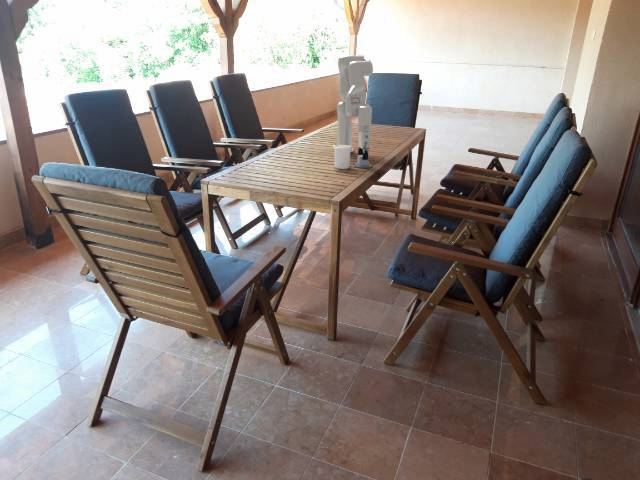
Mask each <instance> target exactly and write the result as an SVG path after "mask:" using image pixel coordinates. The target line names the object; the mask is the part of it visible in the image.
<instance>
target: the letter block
mask: <svg viewBox="0 0 640 480" xmlns="http://www.w3.org/2000/svg"><path fill="white" fill-rule="evenodd" d="M362 158H363V155H358V154H357V161H356V163H357V164H358V165H360V166H363V165H368V163H369V159H368V160H362Z"/></svg>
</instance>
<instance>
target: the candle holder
mask: <svg viewBox="0 0 640 480" xmlns="http://www.w3.org/2000/svg"><path fill="white" fill-rule="evenodd" d="M333 153H334V154H333V155H334V156H333V157H334V159H333V160H334V161H333V162H334V168H335V169H339V170H346V169H349V167H350V164H351V162H350V161H351V153H352V152H351V146H349V145H337V144H335V145H334V146H333Z"/></svg>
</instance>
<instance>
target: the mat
mask: <svg viewBox="0 0 640 480" xmlns="http://www.w3.org/2000/svg"><path fill="white" fill-rule="evenodd" d="M352 165H354V167H356V168H358V169H359V168H360V169H361V168H363V169H365V168H373V167H374V166H373V165H372V164H371V163H370V162H368V165H363V166H360V165H358V164H357V162H353V163H352Z"/></svg>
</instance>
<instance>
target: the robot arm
mask: <svg viewBox="0 0 640 480" xmlns="http://www.w3.org/2000/svg"><path fill="white" fill-rule="evenodd" d="M337 66H338V71H339V75H340V76H339V77H340V78H339V79H340V80H339V81H340V82H339V83H340V84H339V97H340V98H341V99H342V100H343V101H339V102H338V103H337V105H336V113H337V141H336V142H337V144H336V145H349V146H351V153H354V151H355V149H354V148H353V127H354V126H353V122H352V120H351V118H357V132H358V137H357V146H358V147H357V156H358V155H363V158H362V160H368V161H369V152H370V151H369V149H371V131H372V116H373V115H372V114H373V106H370V104H369V103H365V102H366V88H365V87H366V83H365V77H370V76H372V75H373V72H374V67H373V63H372V62H371V60H370V59H369V58H368V57H367V55H363V54H356V55H355V54H345V55H342V56H339V58H338V59H337ZM354 100H355V101H354Z"/></svg>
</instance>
